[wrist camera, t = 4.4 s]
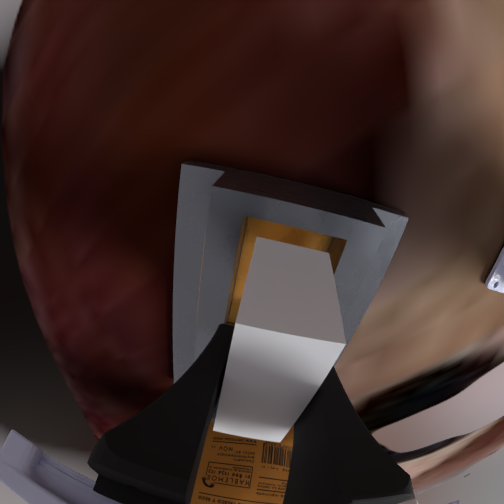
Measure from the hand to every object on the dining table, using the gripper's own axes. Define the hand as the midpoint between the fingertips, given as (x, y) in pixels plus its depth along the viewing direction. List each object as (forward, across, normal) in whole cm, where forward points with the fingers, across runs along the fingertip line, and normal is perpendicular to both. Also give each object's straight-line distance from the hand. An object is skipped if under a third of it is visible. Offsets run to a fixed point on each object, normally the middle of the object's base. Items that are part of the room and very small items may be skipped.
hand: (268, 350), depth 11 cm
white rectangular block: (+2, 0, 0) cm, 2 cm away
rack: (+6, 0, +5) cm, 8 cm away
